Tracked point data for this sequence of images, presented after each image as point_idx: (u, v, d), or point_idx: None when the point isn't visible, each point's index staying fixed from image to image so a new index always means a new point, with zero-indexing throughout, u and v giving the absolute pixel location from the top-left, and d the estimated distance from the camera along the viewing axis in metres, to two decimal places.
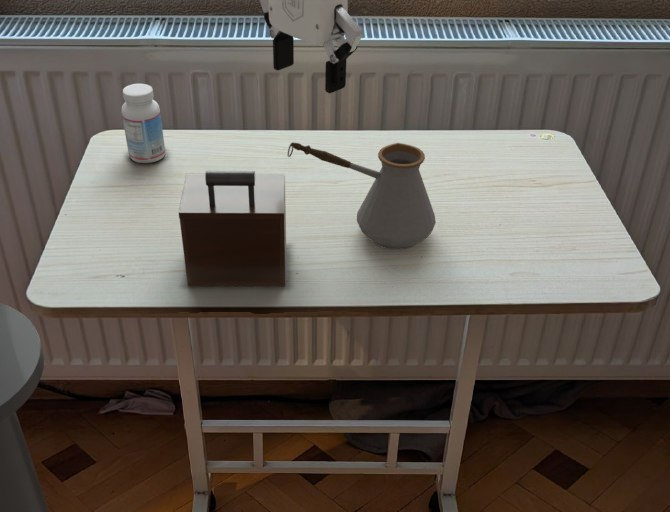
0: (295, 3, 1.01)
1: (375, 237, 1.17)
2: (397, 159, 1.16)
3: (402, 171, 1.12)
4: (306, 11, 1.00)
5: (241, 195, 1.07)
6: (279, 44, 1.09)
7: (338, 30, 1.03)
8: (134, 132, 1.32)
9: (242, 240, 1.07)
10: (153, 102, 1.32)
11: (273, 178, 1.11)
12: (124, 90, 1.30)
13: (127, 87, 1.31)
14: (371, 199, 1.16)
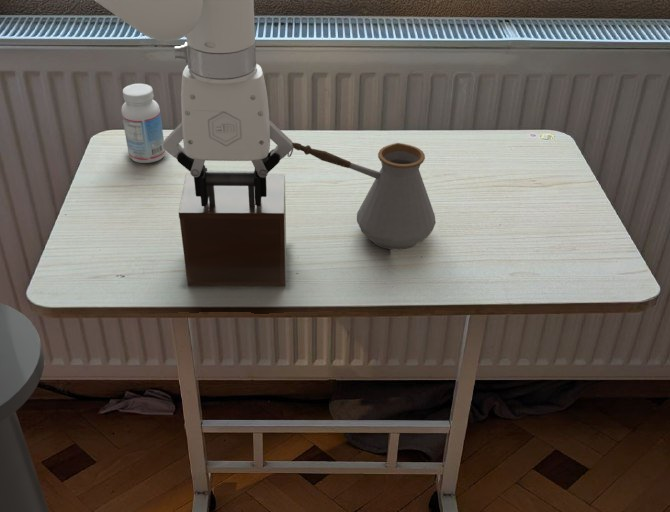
0: (228, 128, 0.96)
1: (375, 237, 1.17)
2: (397, 159, 1.16)
3: (402, 171, 1.12)
4: (245, 132, 0.96)
5: (241, 195, 1.07)
6: (205, 180, 1.02)
7: None
8: (134, 132, 1.32)
9: (242, 240, 1.07)
10: (153, 102, 1.32)
11: (273, 178, 1.11)
12: (124, 90, 1.30)
13: (127, 87, 1.31)
14: (371, 199, 1.16)
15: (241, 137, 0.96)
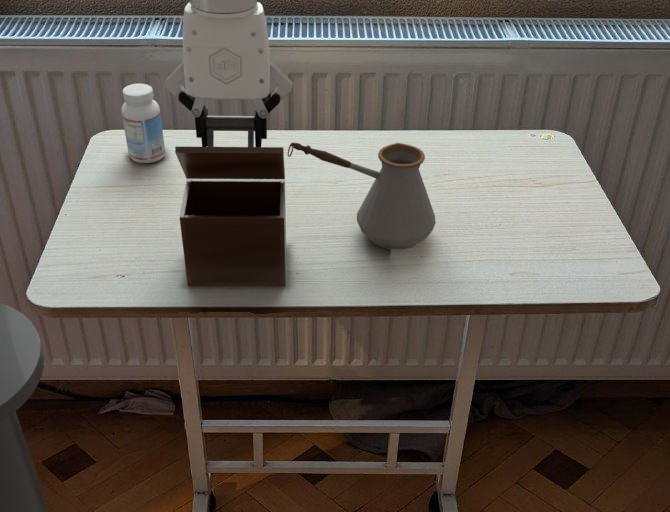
0: (228, 65, 0.97)
1: (375, 237, 1.17)
2: (397, 159, 1.16)
3: (402, 171, 1.12)
4: (245, 69, 0.97)
5: None
6: (205, 120, 1.03)
7: None
8: (134, 132, 1.32)
9: (242, 240, 1.07)
10: (153, 102, 1.32)
11: None
12: (124, 90, 1.30)
13: (127, 87, 1.31)
14: (371, 199, 1.16)
15: (241, 75, 0.98)
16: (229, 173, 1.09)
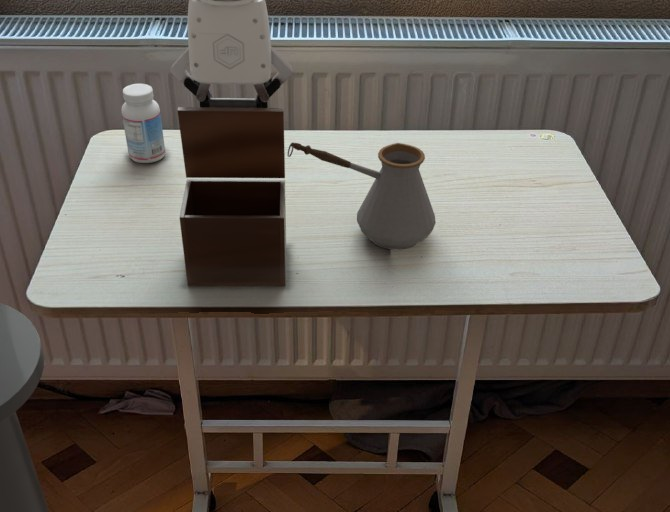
0: (231, 51, 1.02)
1: (375, 237, 1.17)
2: (397, 159, 1.16)
3: (402, 171, 1.12)
4: (248, 55, 1.02)
5: None
6: None
7: None
8: (134, 132, 1.32)
9: (242, 240, 1.07)
10: (153, 102, 1.32)
11: None
12: (124, 90, 1.30)
13: (127, 87, 1.31)
14: (371, 199, 1.16)
15: (244, 60, 1.02)
16: (229, 163, 1.09)
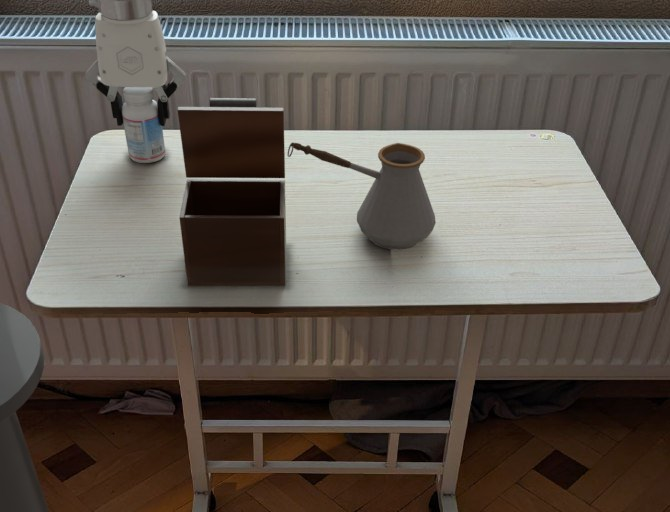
0: (132, 60, 1.24)
1: (375, 237, 1.17)
2: (397, 159, 1.16)
3: (402, 171, 1.12)
4: (146, 63, 1.25)
5: None
6: (119, 104, 1.31)
7: None
8: (134, 132, 1.32)
9: (242, 240, 1.07)
10: (153, 102, 1.32)
11: None
12: (124, 90, 1.30)
13: (127, 87, 1.31)
14: (371, 199, 1.16)
15: (143, 68, 1.25)
16: (229, 162, 1.09)
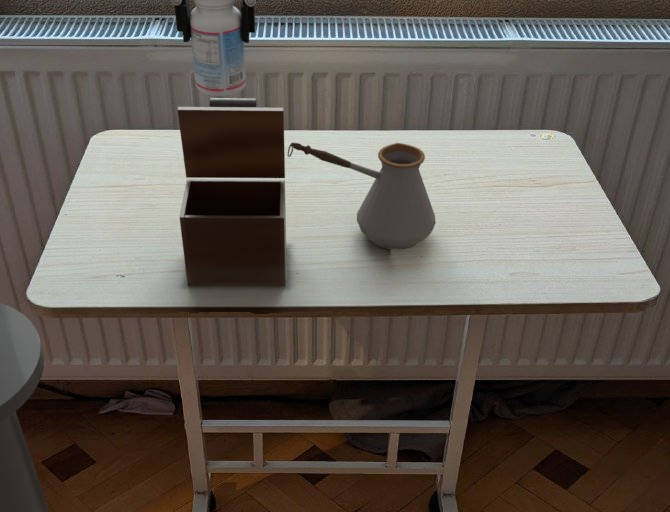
0: None
1: (375, 237, 1.17)
2: (397, 159, 1.16)
3: (402, 171, 1.12)
4: None
5: None
6: (187, 9, 0.93)
7: None
8: (208, 50, 0.94)
9: (242, 240, 1.07)
10: (234, 8, 0.94)
11: None
12: None
13: None
14: (371, 199, 1.16)
15: None
16: (229, 162, 1.09)
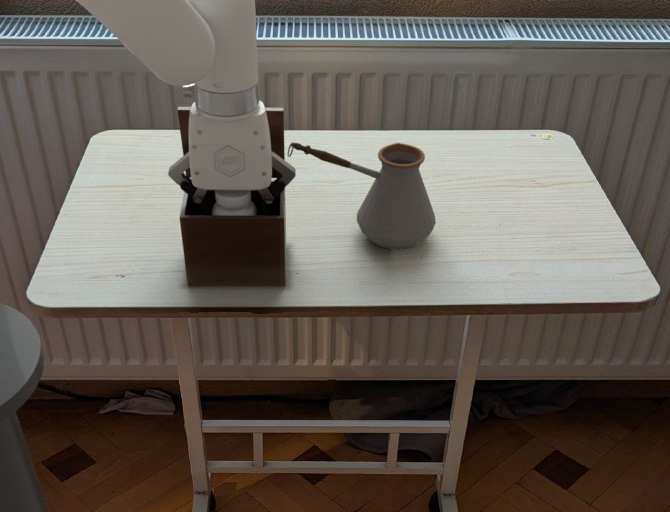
0: (232, 160, 1.02)
1: (375, 237, 1.17)
2: (397, 159, 1.16)
3: (402, 171, 1.12)
4: (248, 164, 1.02)
5: None
6: (206, 206, 1.08)
7: None
8: None
9: (242, 240, 1.07)
10: (250, 203, 1.09)
11: None
12: (217, 190, 1.07)
13: None
14: (371, 199, 1.16)
15: (245, 169, 1.03)
16: None
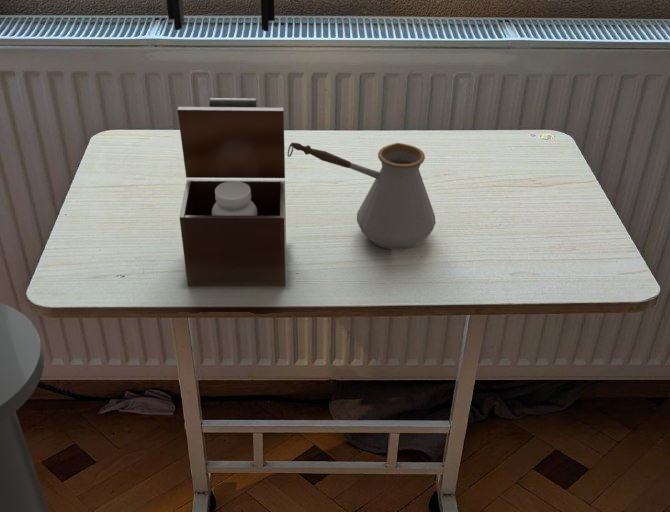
0: None
1: (375, 237, 1.17)
2: (397, 159, 1.16)
3: (402, 171, 1.12)
4: None
5: None
6: None
7: None
8: None
9: (242, 240, 1.07)
10: (250, 203, 1.09)
11: None
12: (217, 191, 1.07)
13: (220, 186, 1.08)
14: (371, 199, 1.16)
15: None
16: (229, 162, 1.09)
